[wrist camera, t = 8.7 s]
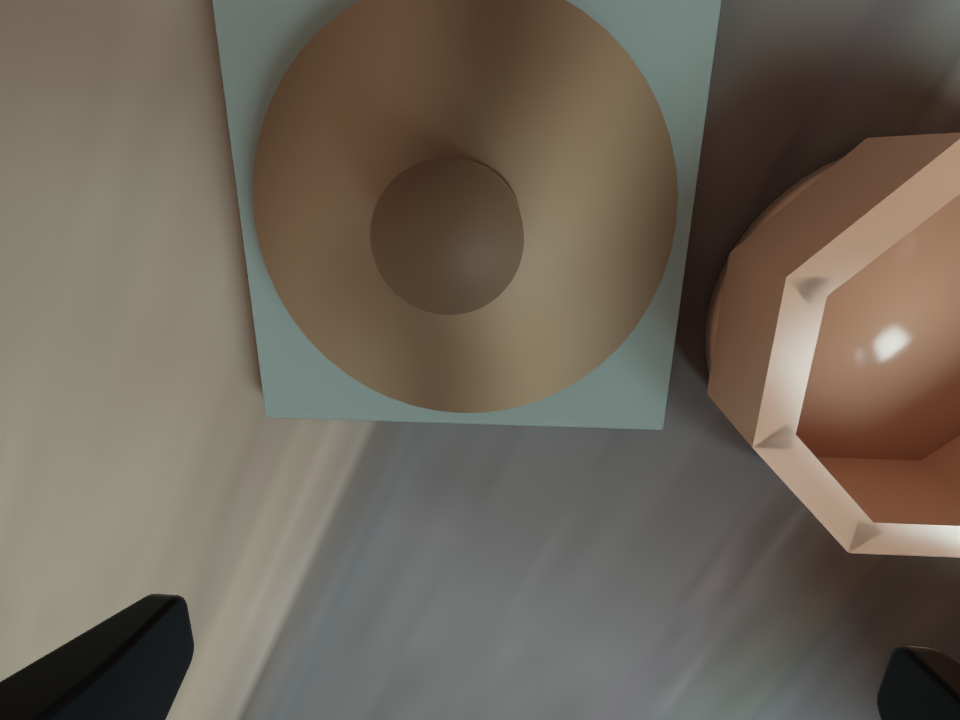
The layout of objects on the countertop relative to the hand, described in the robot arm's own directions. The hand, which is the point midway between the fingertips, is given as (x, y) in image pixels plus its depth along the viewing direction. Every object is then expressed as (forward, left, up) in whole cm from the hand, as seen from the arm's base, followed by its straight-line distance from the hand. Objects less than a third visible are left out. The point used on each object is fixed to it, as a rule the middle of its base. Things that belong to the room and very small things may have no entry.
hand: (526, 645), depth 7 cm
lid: (+2, -4, -11) cm, 12 cm away
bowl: (-11, -1, -12) cm, 17 cm away
